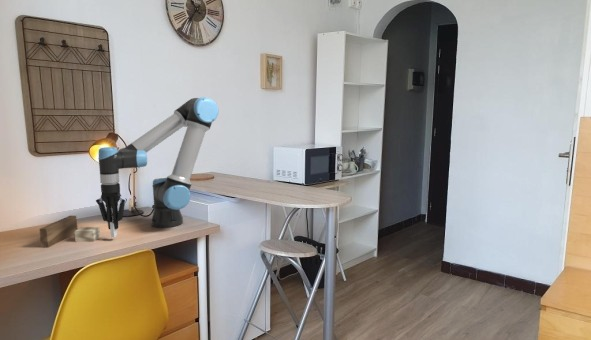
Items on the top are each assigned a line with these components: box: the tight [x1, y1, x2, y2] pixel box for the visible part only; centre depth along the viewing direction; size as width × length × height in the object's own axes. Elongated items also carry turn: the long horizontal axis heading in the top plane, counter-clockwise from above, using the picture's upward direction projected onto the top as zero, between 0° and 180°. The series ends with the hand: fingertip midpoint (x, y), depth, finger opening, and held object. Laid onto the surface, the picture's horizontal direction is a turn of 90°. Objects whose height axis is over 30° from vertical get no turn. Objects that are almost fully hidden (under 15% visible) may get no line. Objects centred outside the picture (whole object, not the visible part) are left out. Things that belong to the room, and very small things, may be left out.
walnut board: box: [39, 215, 78, 248], centre depth 190 cm, size 3×22×8 cm, turn 177°
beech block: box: [74, 226, 101, 243], centre depth 190 cm, size 8×6×5 cm
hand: (114, 236), depth 189 cm, fingers closed
